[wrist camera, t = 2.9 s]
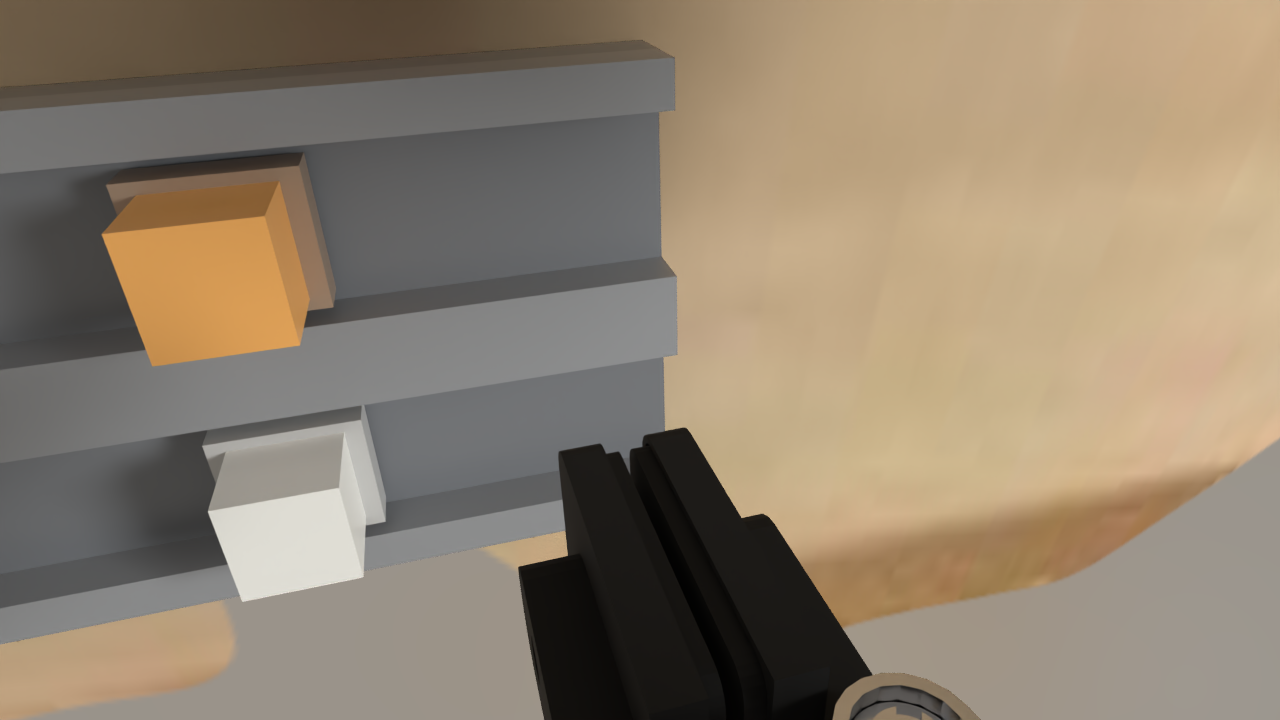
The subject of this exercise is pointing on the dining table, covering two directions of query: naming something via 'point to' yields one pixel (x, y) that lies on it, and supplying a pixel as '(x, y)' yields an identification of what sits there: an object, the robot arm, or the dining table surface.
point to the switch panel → (365, 251)
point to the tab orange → (219, 255)
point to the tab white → (294, 499)
